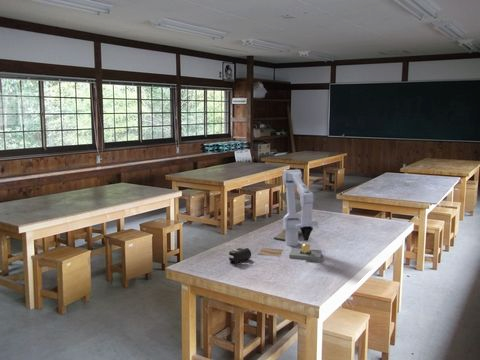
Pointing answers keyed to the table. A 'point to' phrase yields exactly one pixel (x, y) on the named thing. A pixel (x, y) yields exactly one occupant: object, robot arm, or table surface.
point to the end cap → (239, 255)
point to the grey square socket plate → (306, 255)
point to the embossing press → (283, 235)
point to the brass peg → (305, 248)
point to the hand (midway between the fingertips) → (306, 240)
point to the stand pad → (270, 252)
